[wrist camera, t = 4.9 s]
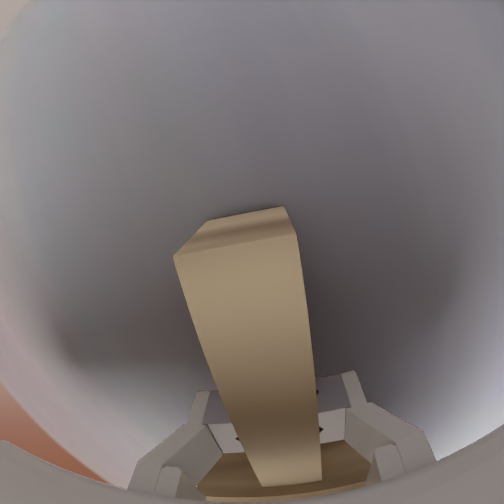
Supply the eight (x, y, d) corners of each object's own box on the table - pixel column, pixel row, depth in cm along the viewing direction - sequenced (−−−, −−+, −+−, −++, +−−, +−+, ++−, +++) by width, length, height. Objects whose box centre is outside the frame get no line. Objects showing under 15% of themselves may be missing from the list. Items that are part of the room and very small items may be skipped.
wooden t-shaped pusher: (130, 237, 9) (59, 284, 5) (369, 192, 8) (440, 215, 4) (214, 442, 12) (204, 504, 8) (368, 422, 11) (386, 483, 8)
